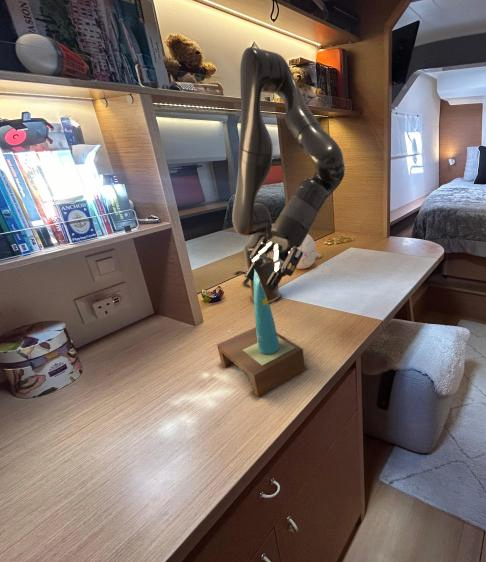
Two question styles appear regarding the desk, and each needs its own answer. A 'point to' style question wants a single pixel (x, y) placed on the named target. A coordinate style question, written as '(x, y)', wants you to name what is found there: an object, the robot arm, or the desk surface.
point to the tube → (264, 320)
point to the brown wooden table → (262, 360)
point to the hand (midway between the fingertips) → (258, 283)
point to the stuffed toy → (308, 253)
